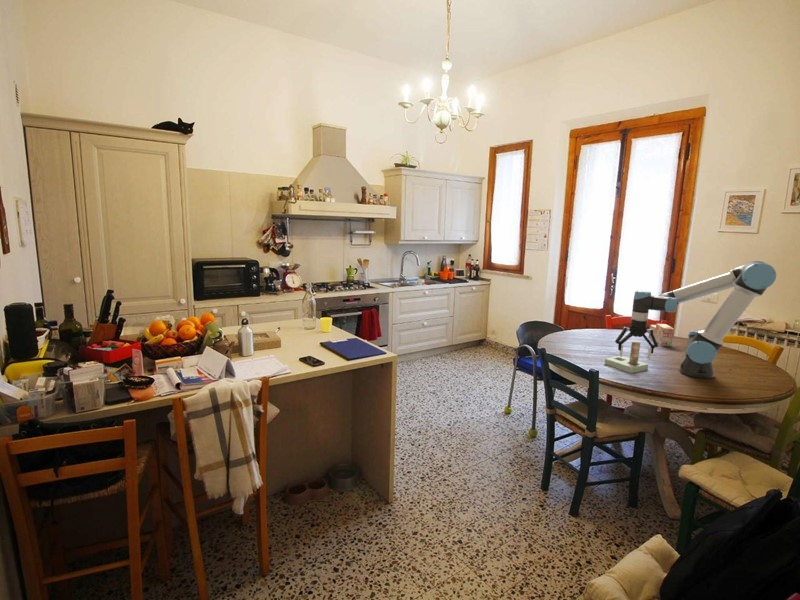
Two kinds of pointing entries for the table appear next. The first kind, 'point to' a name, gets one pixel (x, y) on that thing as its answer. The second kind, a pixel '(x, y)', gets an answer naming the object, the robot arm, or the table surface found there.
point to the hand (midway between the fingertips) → (634, 357)
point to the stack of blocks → (662, 334)
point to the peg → (634, 353)
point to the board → (625, 364)
